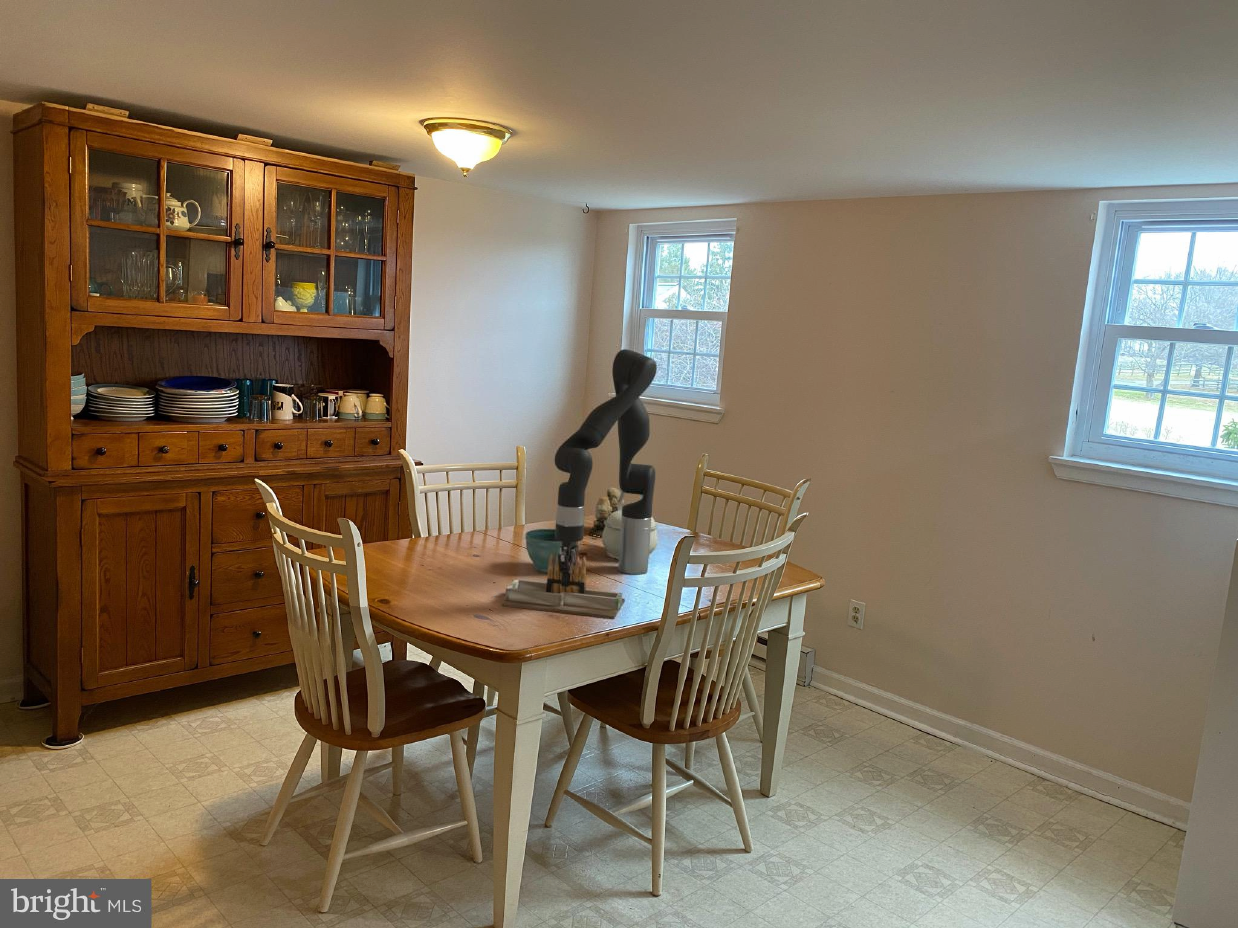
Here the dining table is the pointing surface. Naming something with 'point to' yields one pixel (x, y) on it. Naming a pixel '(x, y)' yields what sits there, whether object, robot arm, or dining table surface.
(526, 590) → the shallow open tray
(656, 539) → the kettle
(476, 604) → the dining table surface
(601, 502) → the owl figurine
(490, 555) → the dining table surface
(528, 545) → the flower pot
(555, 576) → the ammunition clip
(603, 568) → the dining table surface
